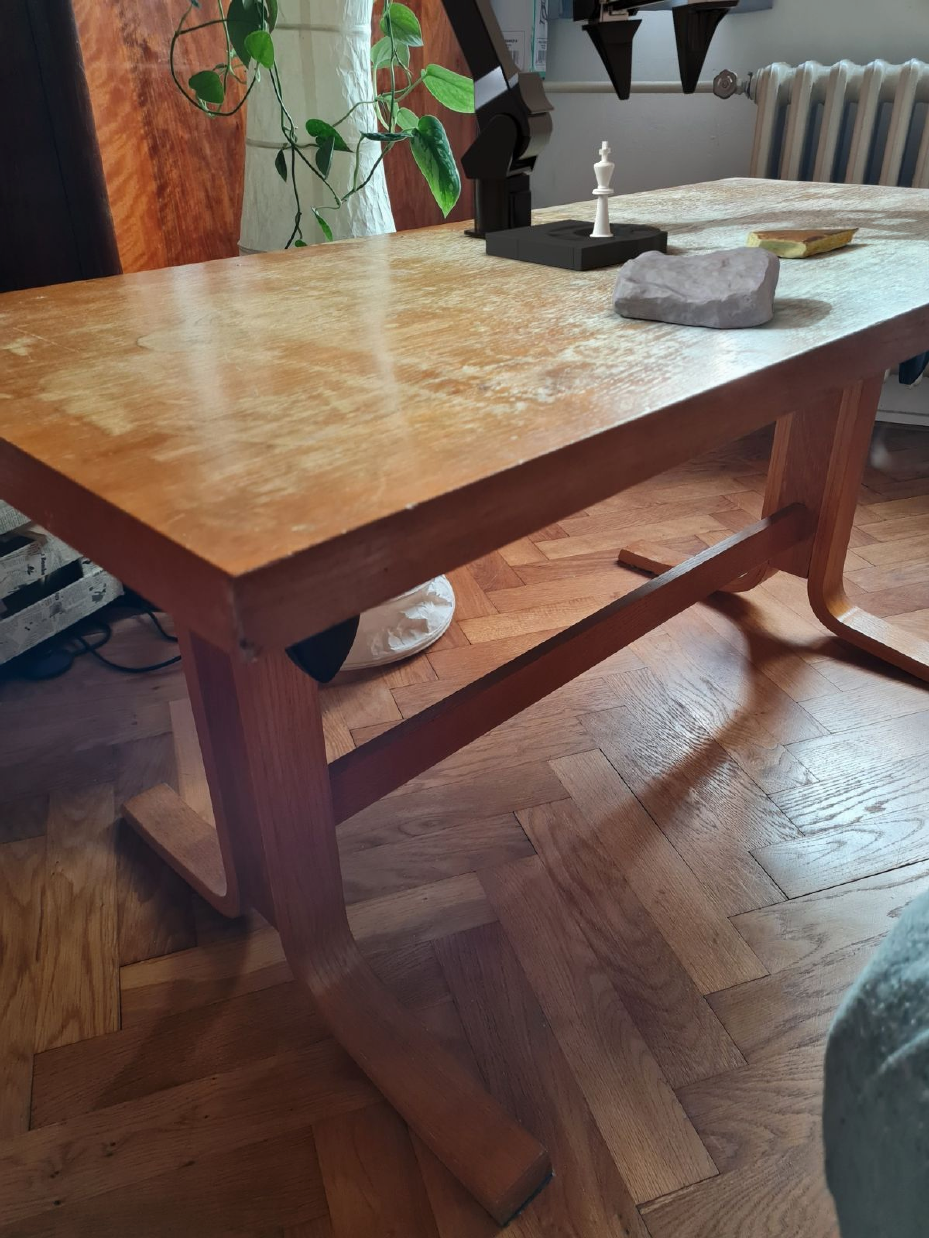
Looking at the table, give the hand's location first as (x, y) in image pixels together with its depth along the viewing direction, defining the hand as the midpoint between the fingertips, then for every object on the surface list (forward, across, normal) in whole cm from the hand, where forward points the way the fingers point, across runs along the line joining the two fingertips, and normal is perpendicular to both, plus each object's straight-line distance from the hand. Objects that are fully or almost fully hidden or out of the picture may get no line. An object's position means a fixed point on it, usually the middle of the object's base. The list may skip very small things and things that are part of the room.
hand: (655, 97), depth 88 cm
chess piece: (+13, -2, +9) cm, 16 cm away
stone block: (+14, -26, +20) cm, 36 cm away
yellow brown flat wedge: (+14, -13, -6) cm, 20 cm away
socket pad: (+13, 0, +11) cm, 17 cm away
